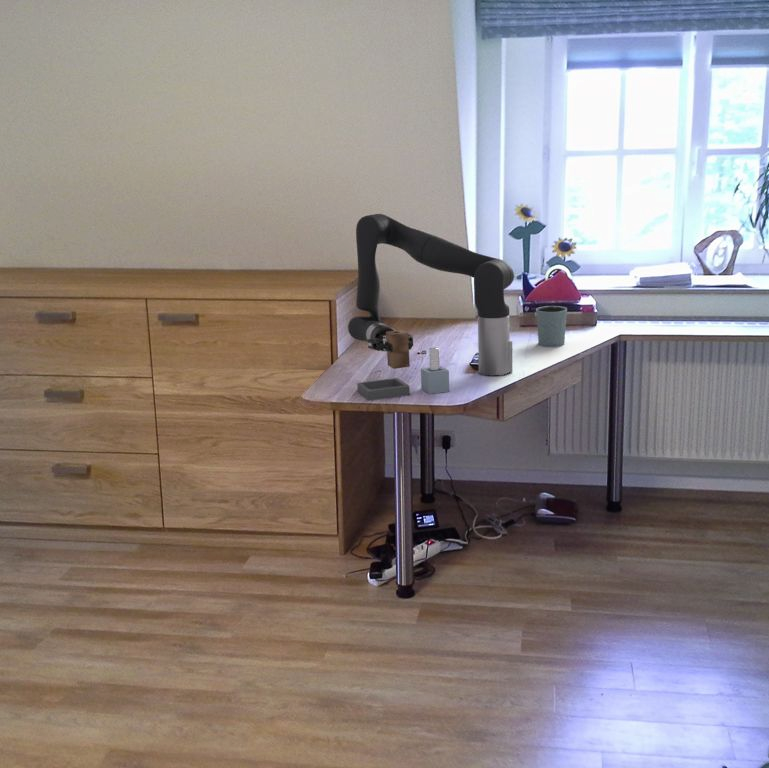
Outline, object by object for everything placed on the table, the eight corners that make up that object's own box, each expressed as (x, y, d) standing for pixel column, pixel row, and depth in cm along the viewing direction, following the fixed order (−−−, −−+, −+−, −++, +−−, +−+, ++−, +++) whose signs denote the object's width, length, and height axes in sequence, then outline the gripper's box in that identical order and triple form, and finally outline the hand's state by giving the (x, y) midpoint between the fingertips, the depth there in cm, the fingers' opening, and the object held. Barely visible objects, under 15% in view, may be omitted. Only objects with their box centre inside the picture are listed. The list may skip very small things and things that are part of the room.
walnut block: (403, 363, 271) (402, 329, 269) (409, 366, 267) (408, 332, 264) (387, 365, 270) (385, 331, 267) (393, 368, 265) (391, 334, 262)
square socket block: (441, 386, 262) (440, 365, 261) (449, 391, 257) (448, 370, 255) (421, 388, 260) (420, 368, 259) (429, 394, 255) (428, 373, 253)
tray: (397, 386, 264) (397, 377, 264) (409, 394, 255) (409, 385, 255) (357, 391, 261) (357, 382, 260) (368, 400, 252) (368, 391, 251)
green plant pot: (566, 340, 312) (567, 305, 308) (566, 347, 302) (567, 311, 299) (536, 340, 313) (536, 306, 310) (535, 347, 304) (535, 311, 301)
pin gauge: (437, 388, 260) (436, 347, 257) (441, 390, 258) (440, 348, 255) (429, 389, 259) (428, 348, 256) (432, 391, 257) (431, 349, 254)
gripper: (358, 327, 277) (376, 337, 261) (403, 321, 281) (423, 331, 265) (359, 351, 278) (377, 363, 263) (404, 345, 283) (424, 356, 267)
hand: (400, 347), depth 264 cm, fingers closed on walnut block, 5 cm apart
